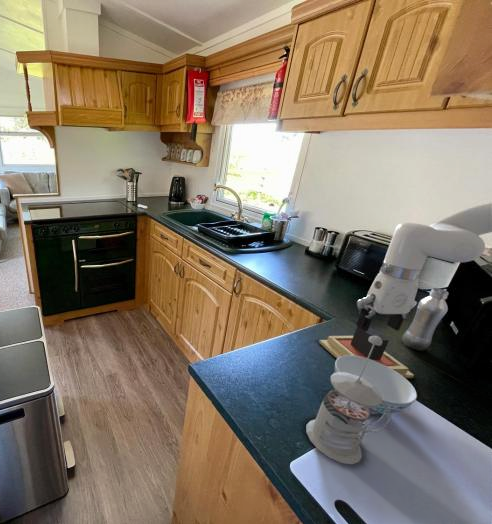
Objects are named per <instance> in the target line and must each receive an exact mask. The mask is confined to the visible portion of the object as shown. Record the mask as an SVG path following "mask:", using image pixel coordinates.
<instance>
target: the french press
mask: <svg viewBox="0 0 492 524" xmlns="http://www.w3.org/2000/svg"><path fill="white" fill-rule="evenodd" d="M368 340H369V342H370V343H372V344H373V346H372V349H371V351H370V353H369V356H368V358H367V360H366V363H365V365H364V367H363V370H362V372H361V374H360V377H359V376H356V375H353V374H350V373H346V372H337V373H335V372H333V373H332V374H331V375H330V383H331V386H332V387H333V388H334V389H332V390H329V391H328V392H327V393H326V395H325V396H324V397H323V399H322V402H321V404H320V407H319V410H318V412H317V415H316V417H315V419H312V420H309V422H308V423H307V424H306V426H305V427H306V428H305V429H306V431H305V433H306V434H307V436H308V438H309V441H310V442H311V444H313V446H314V447H315V448H316V449H317V450H318V451H319V452H321V453H322V454H323V455H325V456H326V457H327V458H329V459H331V460H334V461H336V462H338V463H340V464H344V465H345V464H346V465H354V464H357V463H360V461H361V459H362V457H363V453H362V448H361V446H360V444H361V442H362V440H363V438H364V436H365V434H368V433H377V432H380V431H382V430H384V429H385V428H386V427H387V426H388V425H389V424H390V421H391V420H392V413H390V411H389V409H388V408H387V407H386V405H385V403H384V401H383V400H382V396H381V393H380V392H379V391H378V390H377V389H376V388H375V387H374V386H373V385H372V384H370V383H369V382H367V381H366V380H365V379H363V378H362V377H361V376H362V373H363V371H364V369H365V366H366V364H367V362H368V359H369V357H370V355H371V352H372V350H373V348H374V345H379V346H380V345H382V339H381V338H380V337H378V336H370V337H369V339H368ZM381 401H382V403H383V404H382V403H381ZM379 404H381V405H383V406H384V407H385V411H384V413H382V416H381V417H380V418H379V419H378V420H376V421H374V422H371V420H370V418H371V417H372V414H371V412H370V409H369V408H368V407H367V406H370V407H372V406H375V407H377V406H378V405H379ZM386 409H387V410H388V413H389V414H388V419H387V421H386V423H385V424H384V425H383V426H381V427H380V428H377V429H374V430H368V428H369V426H371V425H376V424H377V423H379V422H380V421H382V420H383V419H384V418H385V416H386V414H385V413H386ZM334 410H335V411H334ZM339 417H340V418H339ZM341 418H342V419H343V420H344V421H343V420H342V419H341ZM365 421H366V422H365ZM364 422H365V423H364ZM357 438H358V439H357Z"/></svg>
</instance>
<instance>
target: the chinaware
mask: <svg viewBox="0 0 492 524" xmlns="http://www.w3.org/2000/svg"><path fill="white" fill-rule="evenodd" d="M366 360H367V358H364V357H359V356H352V355H346V356H341V357H339V358H338V359H337V358H336V360H335V361H334V362H335V363H334V373H337V372H346V373H350V374H353V375H356V376H359V377H360V374H361V372H362V370H363V367H364V365H365V363H366ZM361 377H362V378H363V379H365V380H366V381H367V382H369V383H370V384H372V385H373V386H374V387H375V388H376V389H377V390H378V391H379V392H380V393H381V396H382V400H383V401H384V403H385V405H386V407H387V408H388V409H389V411H390V414H395V413H399V412H402V411H403V410H404V411H405V410H406V409H407V408H408V407H410V406H412V404H414V403H415V402H416V400H417V398H418V393H417V391H416V389H415V387H414V386H413V384H412V383H411V382H410V381H409V380H408V378H404V377H403V376H402V375H400V374H399V373H397V372H396V371H394V370H393V369H391V368H389V367H387V366H385V365H383V364H381V363H379V362H376V361H374V360H371V359H368V362H367V364H366V366H365V369H364V371H363V373H362V376H361ZM381 403H382V401H381ZM382 404H383V403H382ZM367 407H368V408H369V409H370V412H371V415H377V414H383V413H384V411H385V407H384V406H383V405H381V404H379V405H378V406H377V407H375V406H372V407H370V406H367ZM387 414H388V415H389V413H388V410H387V409H386V413H385V415H387Z"/></svg>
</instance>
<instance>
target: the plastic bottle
mask: <svg viewBox="0 0 492 524" xmlns="http://www.w3.org/2000/svg"><path fill="white" fill-rule="evenodd" d="M430 290H431V291H429V295H428V296H426V297H424V298H422V299H420V301H418V303H417V308H416V311H415V315H414V318H413V320H412V322H411V323H410V325H409V327H408V328H407V330H406V331H405V332H404V333H403V335H402V339H401V340H402V343H403V344H404V345H405V346H406V347H408V348H411V349H413V350H415V351H421V352H422V351H425V350H427V349H429V348H430V347H431V344H432V340H433V339H432V338H433V337H434V334H435V331H436V328H437V326H438V325H439V323H440V322H441V321H442V319H443V318H444V317H445V315H446V314H447V312H448V310H449V308H448V304H447V302H446V300H447V299H448V296H449V292H448V290H444V289H442V288H438V287H433V288H432V289H430Z"/></svg>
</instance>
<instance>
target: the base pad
mask: <svg viewBox="0 0 492 524" xmlns="http://www.w3.org/2000/svg"><path fill="white" fill-rule="evenodd" d="M353 336H354V335H328V336H327V338H326V339H319V342H318V343H319V344H320V345H321V346H322V347H323V348H324V349H326V351H328V353H329V354H331V355H332V356H333V357H334V358H336V360H337V359H338V358H339V357H341V356H346V355H352V356H356V355H354V354H353V353H352V352H351V351H350V350H348V349H347V348H346V347H345V346H343V345H342V344H341V343H340V342H339V341H338V340H352V339H353ZM382 356H384V357H385V358H386V359H388V360H389V361H390V362H392V363H393V364H394V366H387V367H389V368H391V369H393V370H394V371H396V372H397V373H399V374H400V375H402V376H403V377H404V378H405V379H413V378H414V377H415V375H414V373H412V372H411V371H410V370H409V368H408V367H407V366H406V365H404V364H403V363H402V362H400V361H398V359H396V358H395V357H393V356H392V355H391V354H389V353H387V352H386V351H384V353H383V355H382Z"/></svg>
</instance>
